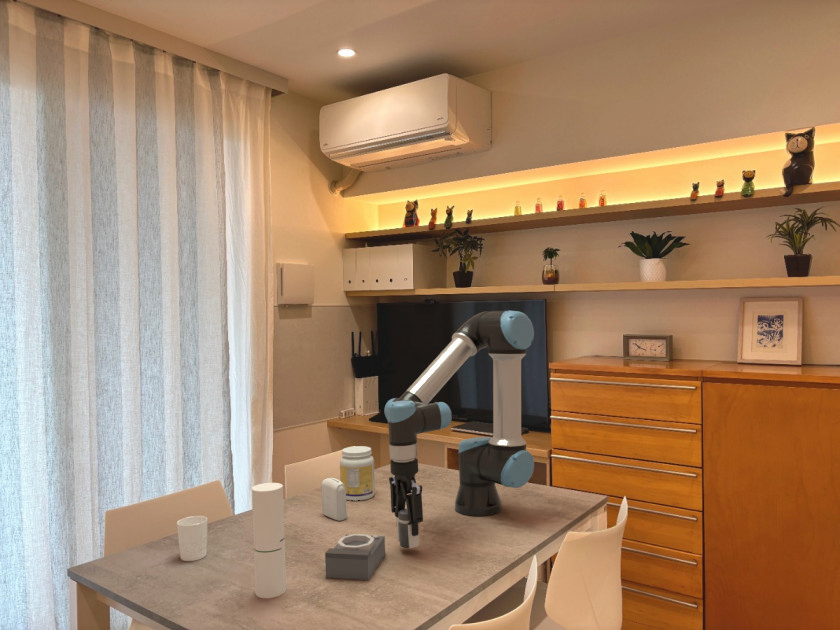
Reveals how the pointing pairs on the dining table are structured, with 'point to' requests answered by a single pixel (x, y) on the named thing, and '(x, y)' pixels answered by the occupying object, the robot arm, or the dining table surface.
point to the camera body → (355, 557)
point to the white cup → (192, 537)
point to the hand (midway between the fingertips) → (408, 543)
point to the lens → (403, 528)
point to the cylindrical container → (269, 540)
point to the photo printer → (334, 499)
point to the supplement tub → (357, 472)
